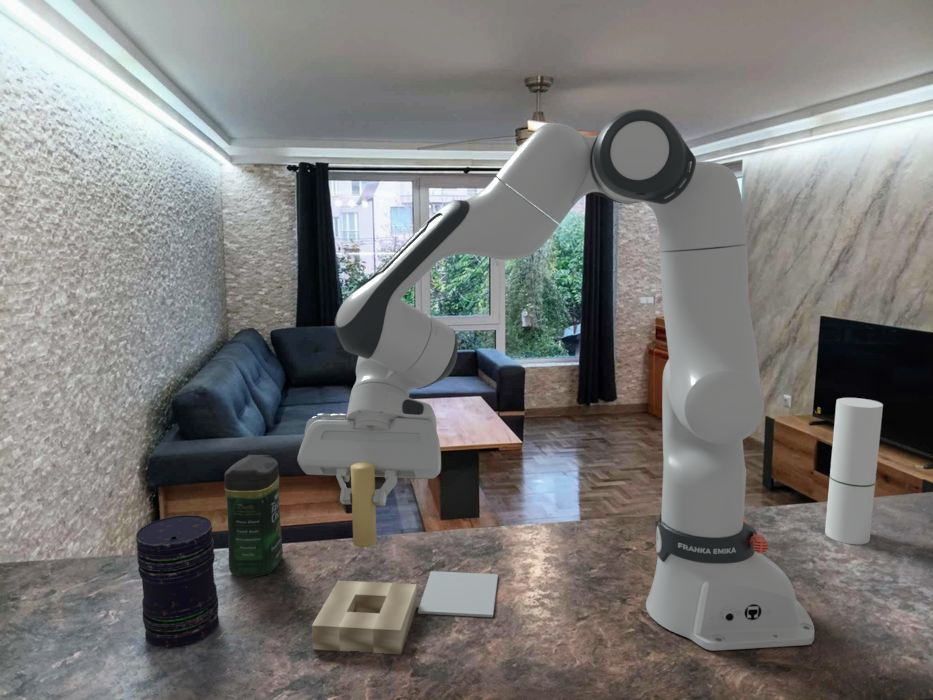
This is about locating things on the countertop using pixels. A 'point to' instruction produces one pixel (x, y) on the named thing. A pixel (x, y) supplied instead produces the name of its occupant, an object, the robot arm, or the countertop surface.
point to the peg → (363, 504)
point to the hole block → (365, 617)
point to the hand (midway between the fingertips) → (362, 503)
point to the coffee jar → (253, 516)
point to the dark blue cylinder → (177, 581)
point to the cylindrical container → (853, 470)
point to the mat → (459, 594)
